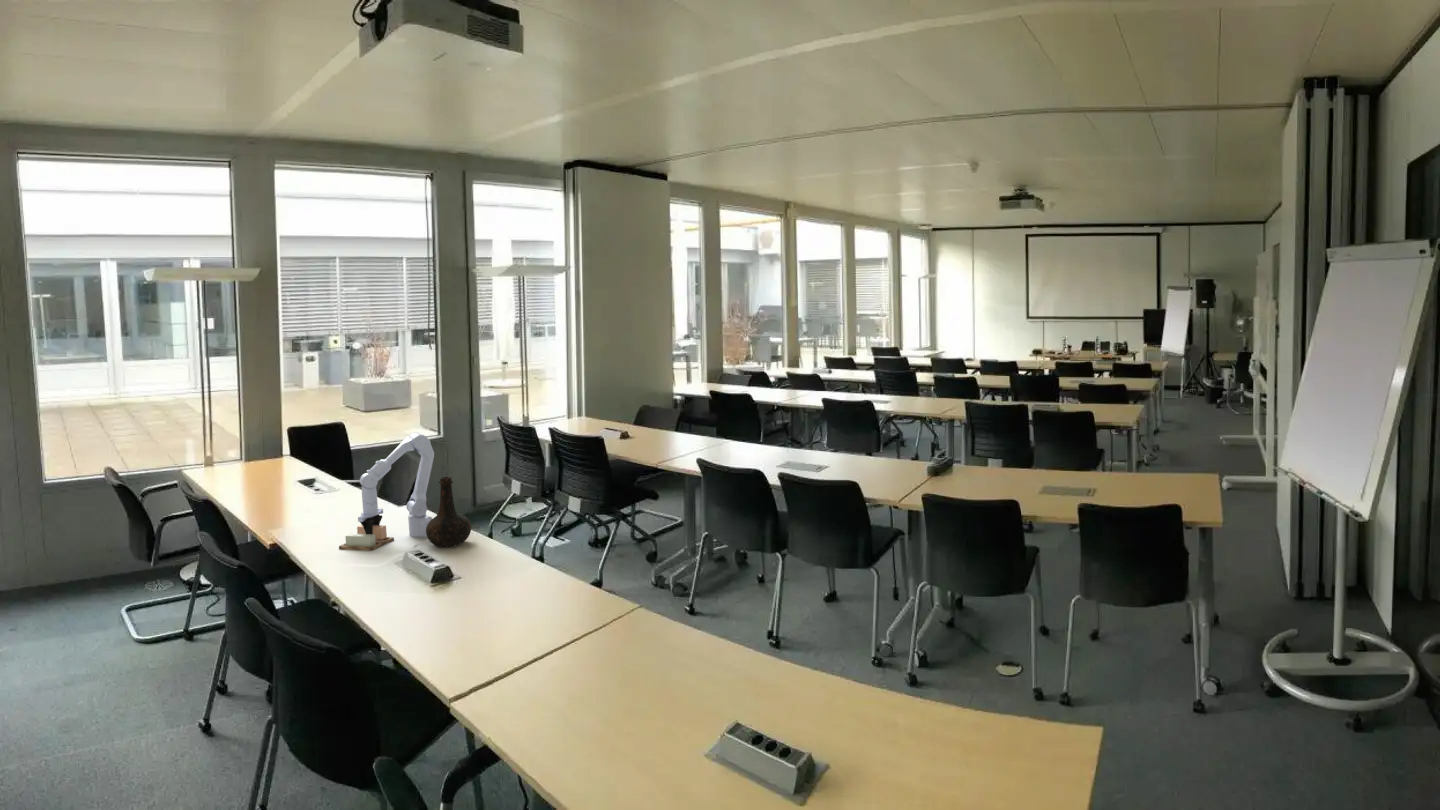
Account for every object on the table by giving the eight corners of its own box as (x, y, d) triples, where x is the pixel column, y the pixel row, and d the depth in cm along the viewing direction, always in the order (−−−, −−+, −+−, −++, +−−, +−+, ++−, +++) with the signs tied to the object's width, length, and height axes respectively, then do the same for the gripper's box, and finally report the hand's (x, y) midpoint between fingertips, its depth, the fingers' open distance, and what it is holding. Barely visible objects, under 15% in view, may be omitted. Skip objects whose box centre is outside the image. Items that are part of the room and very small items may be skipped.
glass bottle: (442, 553, 337) (437, 484, 333) (418, 546, 348) (413, 478, 345) (480, 543, 350) (477, 476, 347) (456, 536, 362) (452, 471, 358)
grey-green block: (375, 546, 346) (375, 534, 345) (370, 548, 342) (369, 536, 342) (351, 545, 348) (350, 533, 347) (346, 547, 344) (345, 535, 344)
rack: (394, 542, 355) (393, 537, 354) (372, 552, 340) (372, 547, 340) (361, 540, 358) (361, 536, 357) (339, 550, 343) (338, 546, 343)
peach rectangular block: (386, 537, 353) (386, 525, 352) (381, 539, 350) (381, 527, 349) (363, 536, 355) (362, 524, 355) (357, 538, 352) (357, 526, 351)
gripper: (371, 498, 359) (373, 529, 360) (350, 506, 344) (352, 538, 346) (386, 498, 357) (389, 530, 359) (366, 506, 343) (368, 539, 345)
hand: (372, 534), depth 352 cm, fingers closed on peach rectangular block, 3 cm apart
